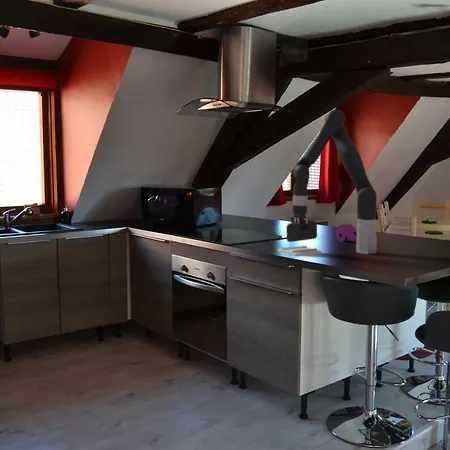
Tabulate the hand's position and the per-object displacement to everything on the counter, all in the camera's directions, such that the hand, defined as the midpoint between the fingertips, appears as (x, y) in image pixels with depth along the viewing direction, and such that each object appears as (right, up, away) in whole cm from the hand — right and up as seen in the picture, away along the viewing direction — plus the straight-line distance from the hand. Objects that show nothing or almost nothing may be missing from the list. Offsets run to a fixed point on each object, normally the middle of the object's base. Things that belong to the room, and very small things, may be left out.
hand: (299, 237), depth 279 cm
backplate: (0, -7, +1) cm, 7 cm away
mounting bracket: (+36, -4, +34) cm, 50 cm away
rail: (0, -6, 0) cm, 6 cm away
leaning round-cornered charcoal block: (+1, -2, -1) cm, 2 cm away
